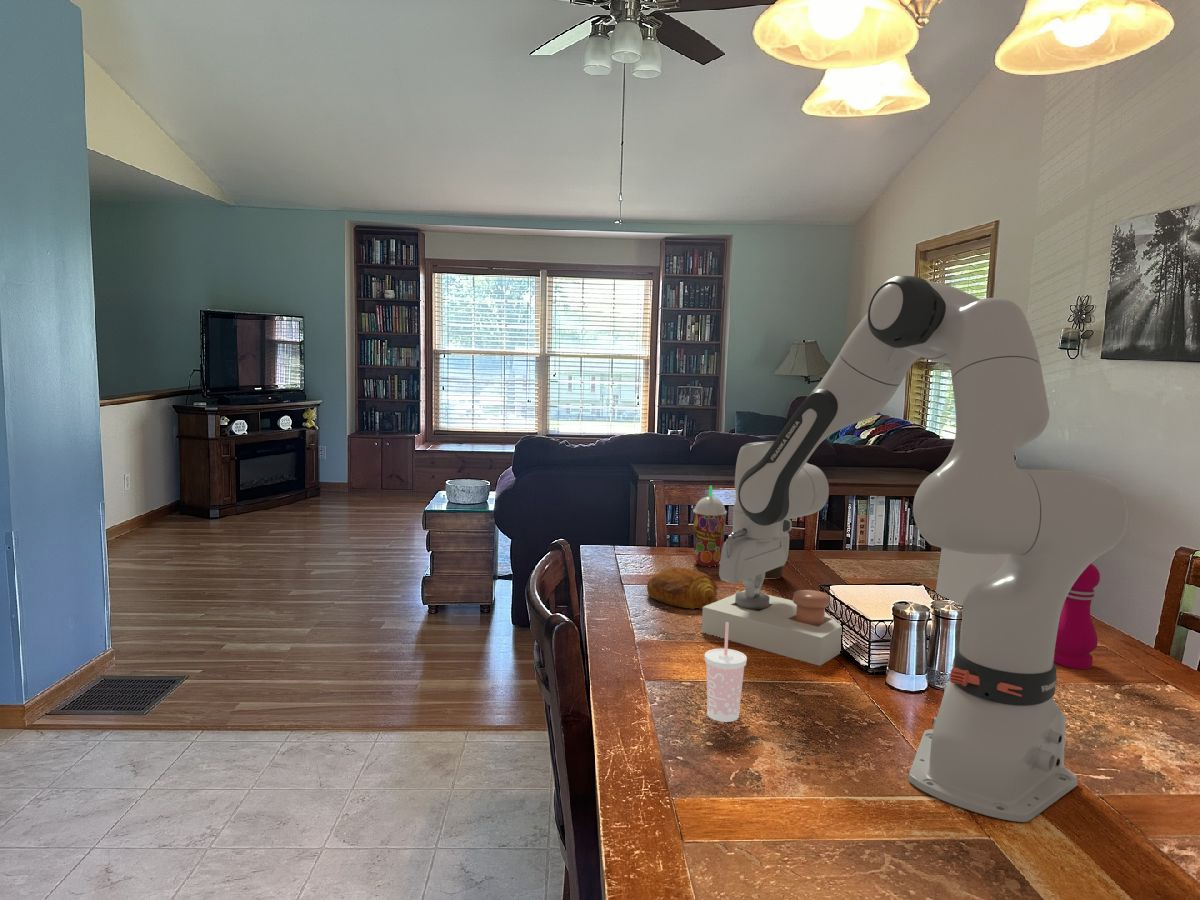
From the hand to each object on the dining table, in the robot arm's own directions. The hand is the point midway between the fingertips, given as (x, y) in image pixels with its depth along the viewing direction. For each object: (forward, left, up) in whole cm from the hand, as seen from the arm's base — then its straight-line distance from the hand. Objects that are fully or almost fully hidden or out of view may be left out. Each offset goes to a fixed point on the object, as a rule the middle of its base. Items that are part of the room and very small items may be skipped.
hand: (752, 596), depth 157 cm
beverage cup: (-36, -16, -7) cm, 40 cm away
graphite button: (0, 0, -6) cm, 6 cm away
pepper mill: (+25, -50, -7) cm, 56 cm away
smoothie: (+36, +33, -7) cm, 49 cm away
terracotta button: (0, -12, -4) cm, 13 cm away
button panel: (0, -6, -7) cm, 9 cm away
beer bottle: (+37, +17, -7) cm, 41 cm away
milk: (+37, -30, -7) cm, 48 cm away
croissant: (+7, +20, -7) cm, 23 cm away
